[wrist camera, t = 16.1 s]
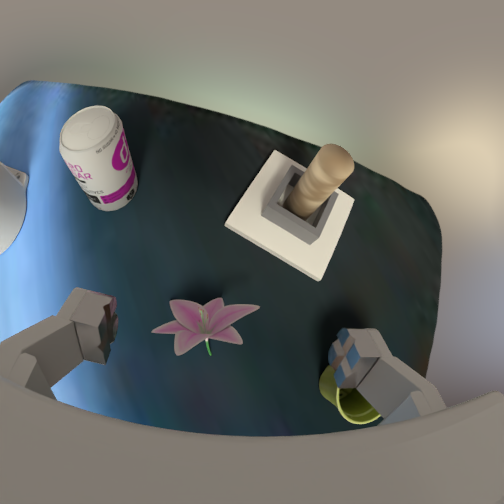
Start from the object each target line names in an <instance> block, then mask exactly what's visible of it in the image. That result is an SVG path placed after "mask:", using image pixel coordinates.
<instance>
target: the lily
mask: <svg viewBox="0 0 504 504" xmlns="http://www.w3.org/2000/svg"><path fill="white" fill-rule="evenodd" d="M170 307H171V310H172V312H173V315H174V316H175V318H176V319H177V320H175V321H172V322H169V323H166V324H164V325H161V326H159V327H157V328H156V329H154V330H153V331H152V333H165V334H176V335H175V342H174V348H175V354H176V355H182V354H184V353H185V352H187V351H188V350H190V349H191V348H193V347H194V346H196V345H197V344H198V343H200V342H201V341H203V340H205V341H206V345H207V349H208V352H209V355H210V356H211V355H212V354H211V351H210V348H209V344H208V338H211V339H216V340H220V341H225V342H230V343H235V344H243V341H242V339H241V337H240V335H239V334H238V332H237V331H236V330H235V329H234V328H233V327H232V326H230V324H232V323H233V322H235V321H237V320H238V319H240V318H242V317H243V316H245V315H247V314H249V313H251V312H253V311H255V310H257V309H259V308H260V306H257V305H247V304H236V305H228V306H225V307H224V302H223V299H222V298H216V299H214V300H212V301H210V302H208V303H206V304H205V305H204V306H202V305H200V304H198V303H196V302H192V301H187V300H171V301H170Z"/></svg>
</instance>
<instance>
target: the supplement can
mask: <svg viewBox="0 0 504 504" xmlns="http://www.w3.org/2000/svg"><path fill="white" fill-rule="evenodd" d="M60 153H61V155H62V157H63V159H64V161H65V162H66V164H67V166H68V167H69V169H70V170H71V172H72V174H73V175H74V177H75V178H76V180H77V181H78V183H79V185H80V186H81V188H82V189H83V191H84V192H85V194H86V195H87V197H88V198H89V200H90V201H91V203H92V204H93V205H94V206H95V207H97V208H98V209H100V210H104V211H112V210H117V209H119V208H121V207H123V206H125V205H126V204H127V203H128V202H129V201H130V200H132V198H133V196H134V195H135V193H136V190H137V185H138V181H137V176H136V172H135V169H134V165H133V162H132V159H131V155H130V151H129V148H128V144H127V140H126V137H125V133H124V129H123V125H122V121H121V120H120V118H119V117H118V116H117V114H115V113H113V112H112V111H111V109H109V108H107V107H105V106H91V107H87V108H85V109H82V110H80V111H78V112H77V113H75V114H74V115H73V116H71V117H70V118H69V119H68V121H67V122H66V123H65V124H64V126H63V128H62V130H61V132H60Z"/></svg>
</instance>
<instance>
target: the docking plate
mask: <svg viewBox="0 0 504 504" xmlns="http://www.w3.org/2000/svg"><path fill="white" fill-rule="evenodd" d="M306 169H307V168H305V167H303V166H302V165H300V164H298V163H297V162H295V161H293V160H292V159H290V158H288V157H286V156H285V155H283V154H281V153H279V152H278V151H276V150H274V151H273V153H272V154H271V156H270V157H269V159H268V160H267V161H266V163H265V164H264V166H263V167H262V169H261V170H260V172H259V173H258V175H257V176H256V177H255V179H254V180H253V182H252V183H251V185H250V186H249V188H248V189H247V191H246V192H245V194H244V195H243V197H242V198H241V200H240V201H239V203H238V204H237V206H236V207H235V209H234V210H233V212H232V213H231V215H230V216H229V218H228V219H227V221H226V222H225V225H224V226H226V227H227V228H229V229H231V230H232V231H234V232H236V233H237V234H239V235H241V236H243V237H244V238H246V239H248V240H249V241H251V242H253V243H254V244H256V245H258V246H259V247H261V248H263V249H264V250H266V251H268V252H269V253H271V254H273V255H274V256H276V257H278V258H279V259H281V260H283V261H284V262H286V263H288V264H289V265H291V266H293V267H295V268H296V269H298V270H300V271H301V272H303V273H304V274H306V275H308V276H309V277H311V278H313V279H314V280H316V281H320V280H321V279H322V276H323V274H324V272H325V270H326V267H327V265H328V263H329V261H330V258H331V256H332V254H333V251H334V249H335V247H336V244H337V242H338V240H339V237H340V235H341V232H342V230H343V228H344V225H345V223H346V220H347V218H348V215H349V213H350V210H351V207H352V205H353V202H354V199H353V198H351V197H350V196H349V195H347V194H346V193H344V192H343V191H341V190H340V189H338V188H337V189H336V190H335V191H334V192H333V193H332V194H331V195H330V196H329V197H328V198H327V199H326V200H325V201H324V202H323V203H322V204H321V205H320V206H319V207H318V208H317V209H316V210H315V212H314V213H313V214H312V215H311V216H310V217H309V218H308V219H307V220H306V221H304V220H302V219H301V218H299V217H297V216H296V215H294V214H292V213H291V212H289V211H288V210H286V209H284V208H283V204H284V201H285V200H286V199H287V197H288V196H289V194H290V193H291V191H292V190H293V188H294V187H295V185H296V184H297V183H298V181H299V180H300V178H301V177H302V175H303V174H304V172H305V171H306Z"/></svg>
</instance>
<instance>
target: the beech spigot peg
mask: <svg viewBox="0 0 504 504" xmlns="http://www.w3.org/2000/svg"><path fill="white" fill-rule="evenodd" d="M353 170H354V162H353V159H352V157H351V155H350V154H349V153H348V152H347V151H346V150H345V149H344V148H342V147H340V146H338V145H335V144H327V145H324V146H323V147H322V148H321V149H320V151H319V152H318V154H317V155H316V156H315V158H314V159H313V161H312V162H311V164H310V165H309V167H308V168H307V169H306V171H305V172H304V174H303V175H302V177H301V178H300V180H299V181H298V183H297V184H296V185H295V187H294V188H293V190H292V191H291V193H290V194H289V196H288V197H287V199H286V200H285V201H284V204H283V208H284V209H286V210H288V211H289V212H291V213H292V214H294V215H296V216H297V217H299V218H301V219H302V220H304V221H306V220H307V219H308V218H309V217H310V216H311V215H312V214H313V213H314V212H315V210H316V209H317V208H318V207H319V206H320V205H321V204H322V203H323V202H324V201H325V200H326V199H327V198H328V197H329V196H330V195H331V194H332V193H333V192H334V191H335V190H336V189H337V188H338V187H339V186H340V185H341V184H342V182H343V181H344V180H345V179H346V178H347V177H348V176H349V175H350V174H351V173H352V172H353Z"/></svg>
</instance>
